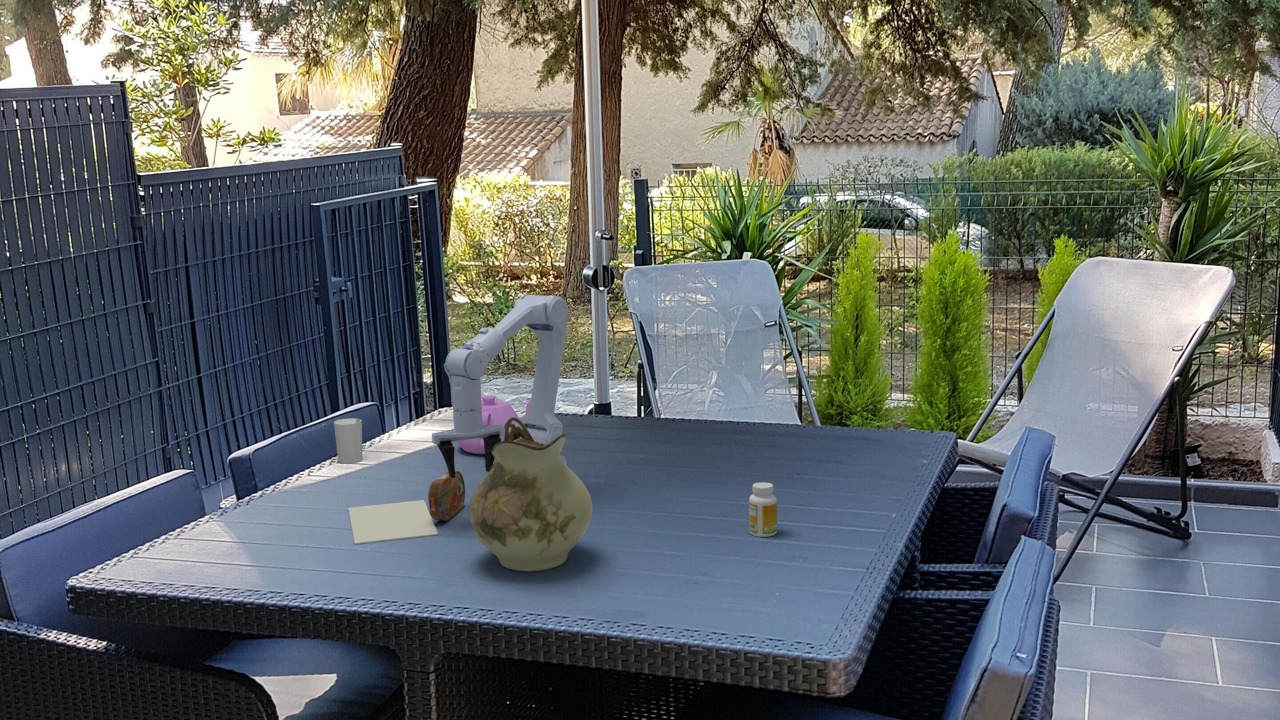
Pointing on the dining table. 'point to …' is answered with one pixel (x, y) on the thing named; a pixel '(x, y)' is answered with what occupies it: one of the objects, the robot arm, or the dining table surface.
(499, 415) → the teapot
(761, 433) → the dining table surface
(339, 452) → the drinking glass
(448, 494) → the tin
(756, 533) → the supplement bottle
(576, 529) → the pitcher
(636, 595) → the dining table surface
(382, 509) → the mat
